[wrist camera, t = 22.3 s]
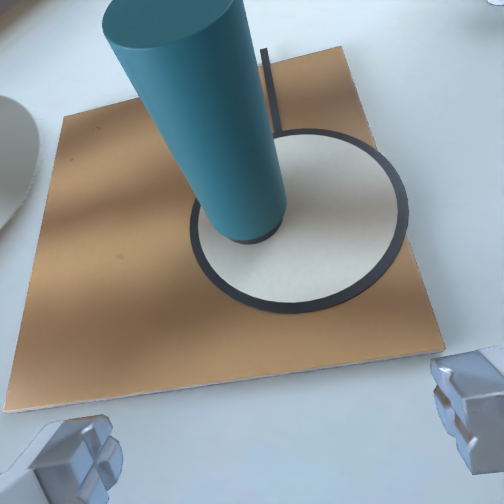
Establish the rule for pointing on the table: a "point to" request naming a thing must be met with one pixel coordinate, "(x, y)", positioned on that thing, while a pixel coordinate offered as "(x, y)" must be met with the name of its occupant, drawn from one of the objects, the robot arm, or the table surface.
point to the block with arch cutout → (496, 2)
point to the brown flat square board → (218, 257)
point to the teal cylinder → (205, 105)
